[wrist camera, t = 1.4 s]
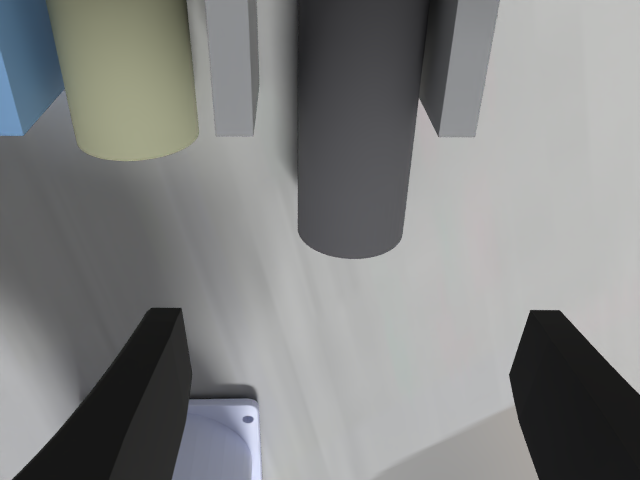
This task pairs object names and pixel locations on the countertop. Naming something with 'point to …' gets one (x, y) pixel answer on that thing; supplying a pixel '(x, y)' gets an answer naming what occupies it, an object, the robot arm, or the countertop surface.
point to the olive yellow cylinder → (127, 75)
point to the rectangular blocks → (253, 64)
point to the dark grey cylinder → (357, 121)
